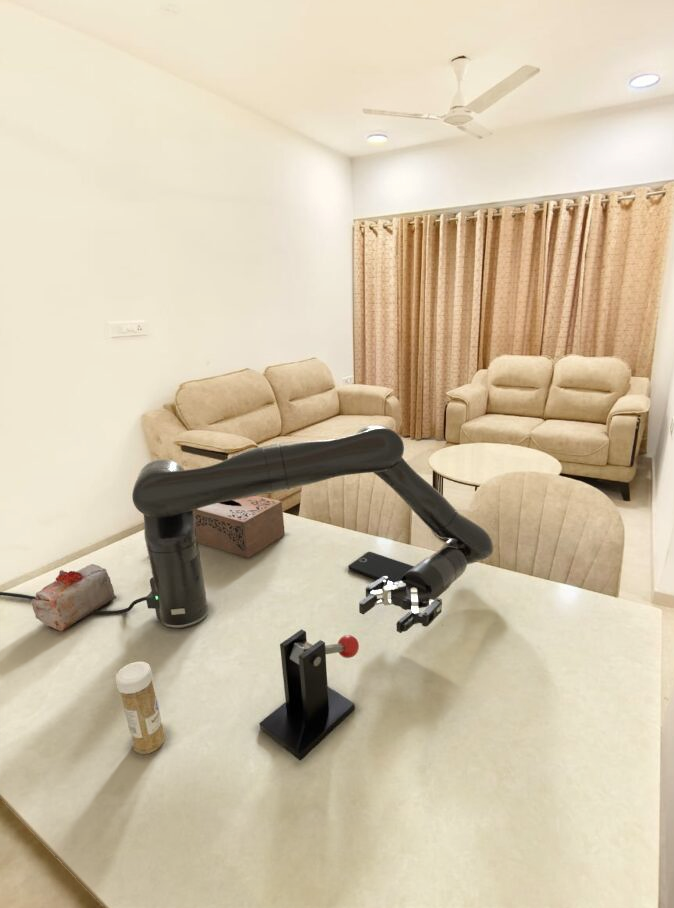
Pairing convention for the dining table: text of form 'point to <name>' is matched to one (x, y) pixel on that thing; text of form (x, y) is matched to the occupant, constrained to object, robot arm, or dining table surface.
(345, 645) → the lever
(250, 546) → the tissue box cover
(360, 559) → the cell phone
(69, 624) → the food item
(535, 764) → the dining table surface
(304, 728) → the bracket
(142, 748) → the sprinkles bottle
